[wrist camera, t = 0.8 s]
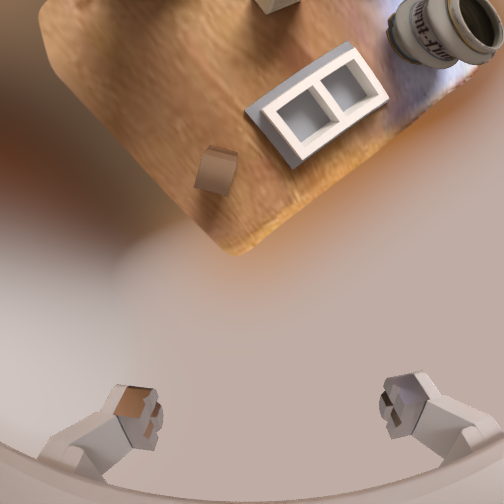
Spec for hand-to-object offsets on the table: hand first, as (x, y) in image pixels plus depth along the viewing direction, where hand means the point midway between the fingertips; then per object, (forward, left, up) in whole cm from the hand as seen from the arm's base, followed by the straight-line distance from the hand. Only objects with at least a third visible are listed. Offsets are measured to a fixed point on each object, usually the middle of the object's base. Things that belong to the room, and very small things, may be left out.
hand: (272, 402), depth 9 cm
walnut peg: (-1, -4, -38) cm, 38 cm away
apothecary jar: (-32, +18, -38) cm, 52 cm away
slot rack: (-14, +7, -38) cm, 41 cm away
